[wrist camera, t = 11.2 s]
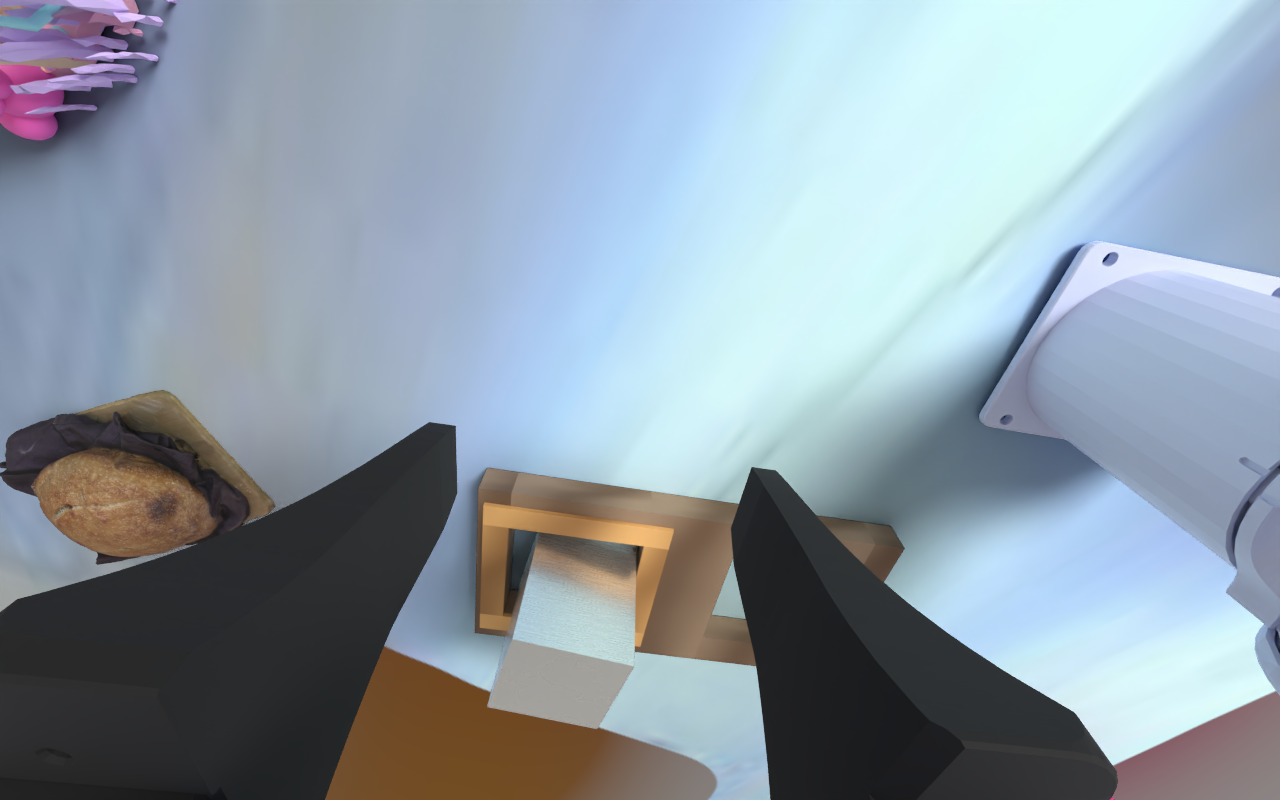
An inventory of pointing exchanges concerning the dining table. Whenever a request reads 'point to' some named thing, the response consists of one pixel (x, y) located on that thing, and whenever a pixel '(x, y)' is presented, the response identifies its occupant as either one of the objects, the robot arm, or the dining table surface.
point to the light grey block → (569, 631)
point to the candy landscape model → (60, 57)
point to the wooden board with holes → (641, 555)
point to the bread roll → (132, 477)
